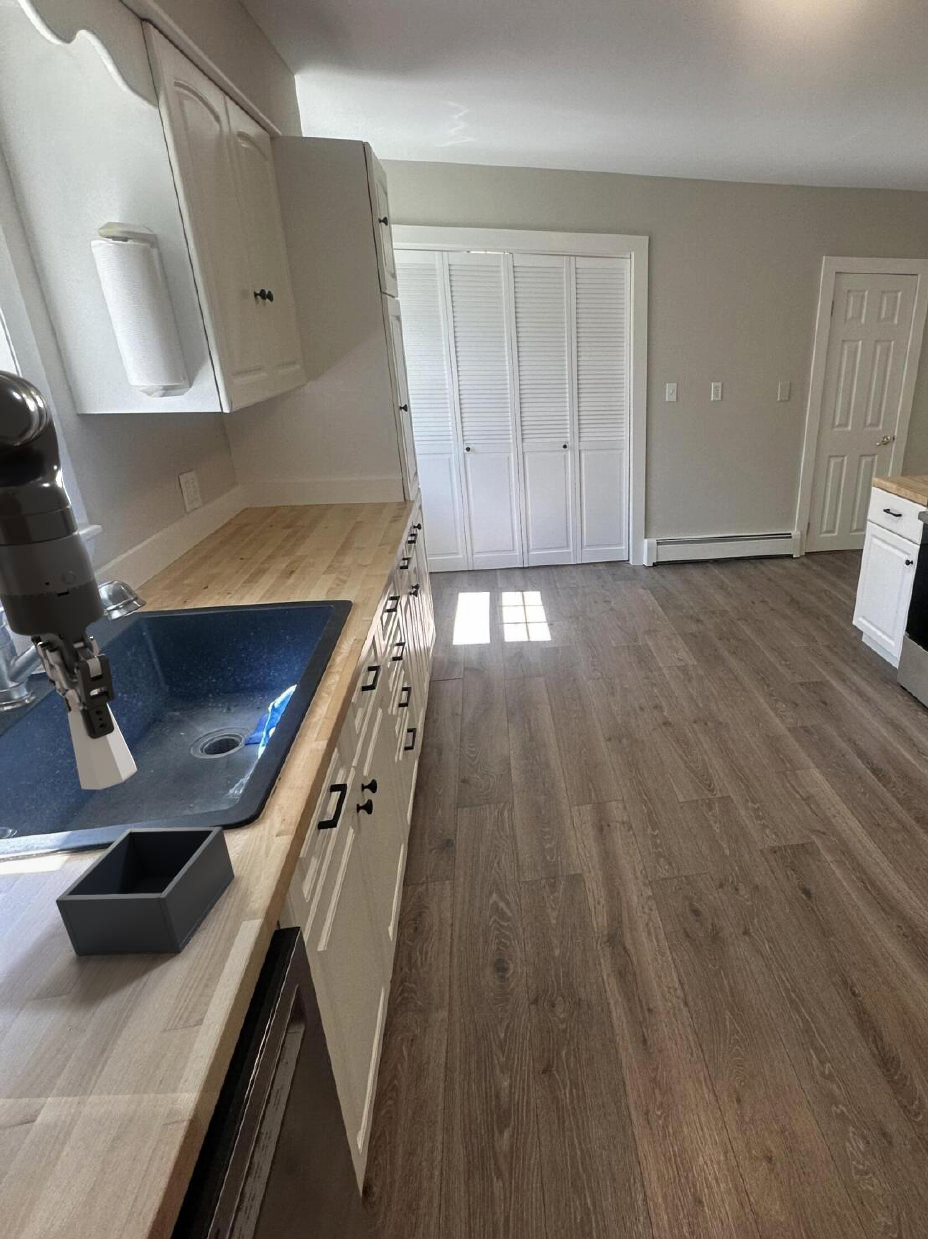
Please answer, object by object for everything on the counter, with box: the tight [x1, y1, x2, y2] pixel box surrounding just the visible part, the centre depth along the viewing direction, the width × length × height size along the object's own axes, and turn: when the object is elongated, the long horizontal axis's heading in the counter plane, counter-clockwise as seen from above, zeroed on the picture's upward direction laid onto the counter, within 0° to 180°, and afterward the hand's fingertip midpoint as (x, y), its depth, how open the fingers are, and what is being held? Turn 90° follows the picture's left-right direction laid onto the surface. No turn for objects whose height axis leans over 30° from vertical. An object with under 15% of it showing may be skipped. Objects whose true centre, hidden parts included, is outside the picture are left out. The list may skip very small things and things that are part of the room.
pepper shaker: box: [64, 689, 138, 791], centre depth 72 cm, size 5×5×11 cm
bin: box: [55, 826, 236, 956], centre depth 77 cm, size 11×11×8 cm
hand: (93, 728), depth 72 cm, fingers closed on pepper shaker, 4 cm apart
